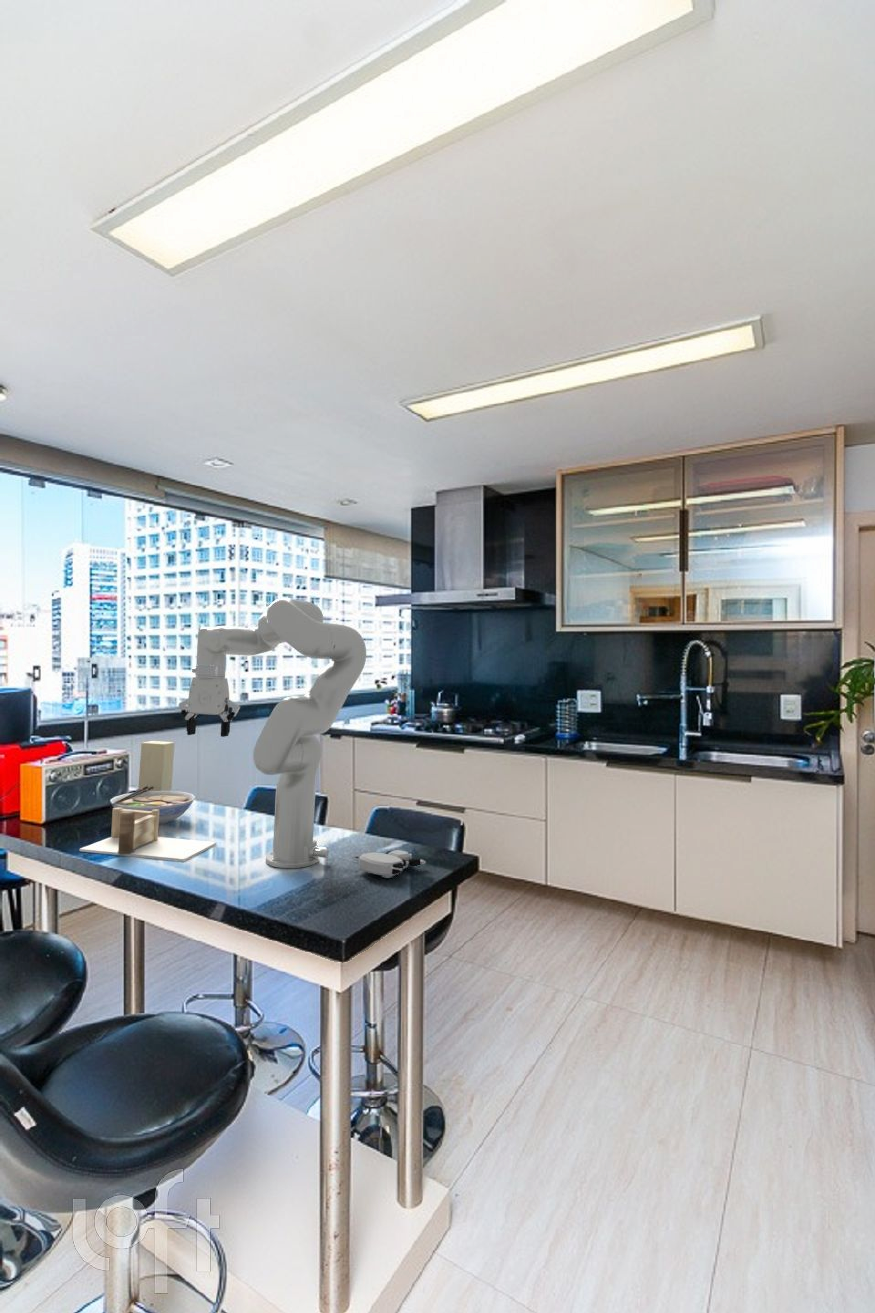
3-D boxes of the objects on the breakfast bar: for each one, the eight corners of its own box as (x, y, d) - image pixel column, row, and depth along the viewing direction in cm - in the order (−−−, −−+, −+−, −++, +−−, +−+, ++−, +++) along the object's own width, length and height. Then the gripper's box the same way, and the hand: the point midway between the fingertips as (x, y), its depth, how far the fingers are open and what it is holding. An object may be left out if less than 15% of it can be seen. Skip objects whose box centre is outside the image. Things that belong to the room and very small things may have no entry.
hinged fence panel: (127, 854, 147) (129, 814, 147) (115, 853, 147) (117, 813, 147) (157, 840, 159) (159, 803, 159) (145, 839, 160) (147, 802, 160)
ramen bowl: (173, 836, 167) (175, 806, 167) (89, 833, 166) (91, 803, 167) (207, 815, 192) (208, 788, 192) (133, 812, 191) (135, 785, 192)
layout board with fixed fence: (216, 844, 161) (218, 812, 161) (181, 863, 145) (183, 827, 145) (119, 835, 165) (121, 804, 166) (75, 852, 150) (77, 817, 150)
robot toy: (389, 863, 155) (348, 873, 143) (390, 845, 155) (350, 853, 143) (428, 874, 148) (388, 885, 135) (429, 855, 148) (390, 864, 136)
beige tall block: (172, 805, 203) (175, 741, 204) (160, 809, 196) (163, 744, 196) (149, 803, 204) (153, 740, 204) (136, 808, 197) (140, 742, 197)
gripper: (173, 671, 165) (170, 735, 164) (234, 673, 162) (231, 738, 162) (188, 671, 172) (185, 732, 172) (246, 673, 170) (244, 735, 169)
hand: (207, 735), depth 167 cm, fingers open, 9 cm apart
